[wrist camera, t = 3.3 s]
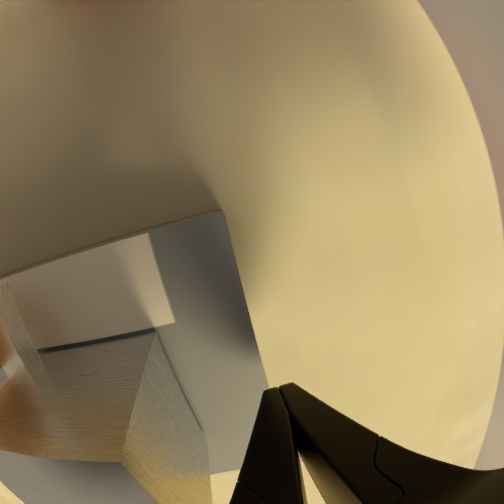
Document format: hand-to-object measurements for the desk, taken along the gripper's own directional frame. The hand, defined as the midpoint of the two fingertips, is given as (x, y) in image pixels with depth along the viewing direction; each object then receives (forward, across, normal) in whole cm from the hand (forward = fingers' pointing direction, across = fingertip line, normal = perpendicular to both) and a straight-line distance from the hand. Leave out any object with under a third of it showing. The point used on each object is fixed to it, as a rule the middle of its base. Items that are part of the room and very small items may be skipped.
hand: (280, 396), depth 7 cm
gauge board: (+2, +15, 0) cm, 15 cm away
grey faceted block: (+1, +5, -1) cm, 5 cm away
